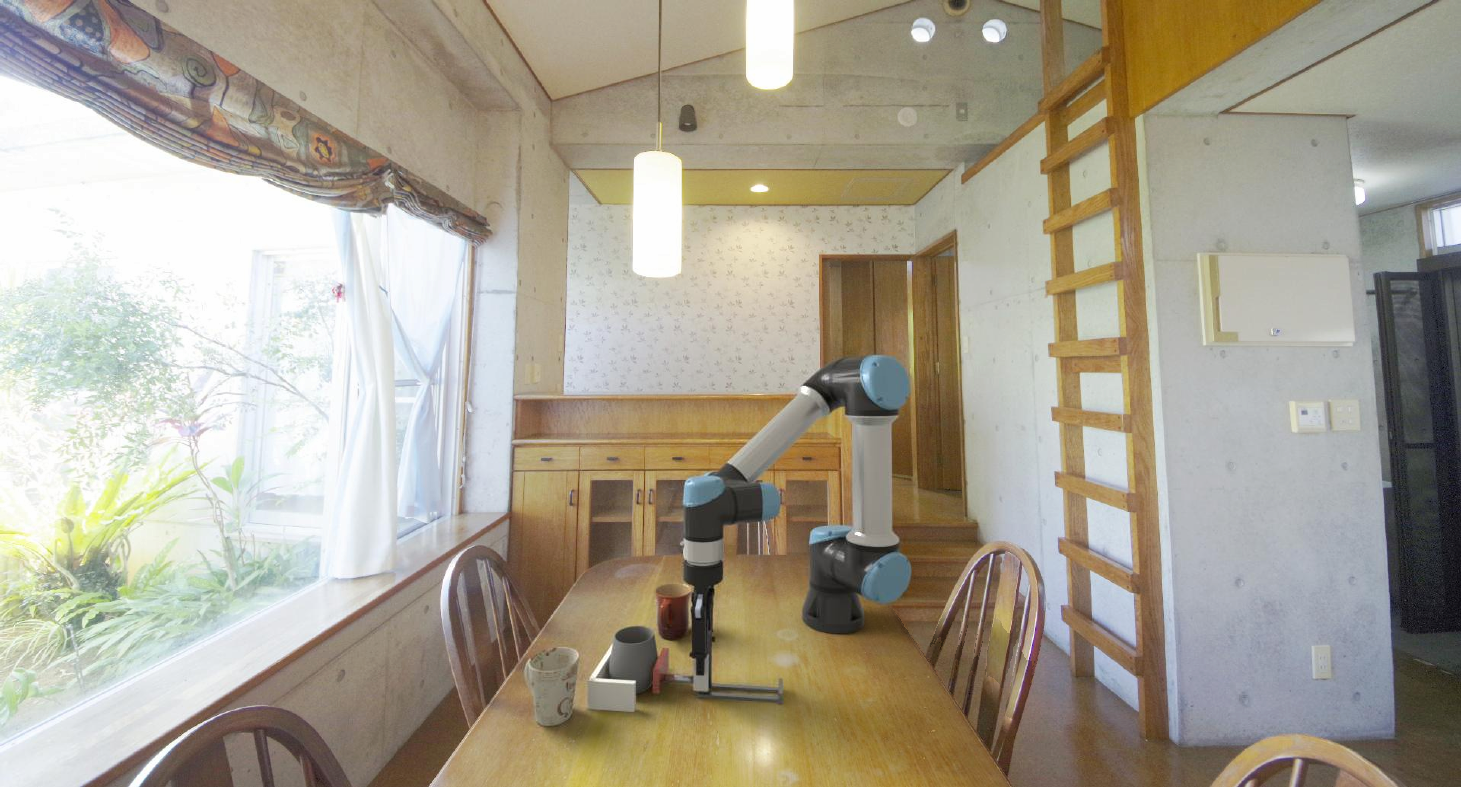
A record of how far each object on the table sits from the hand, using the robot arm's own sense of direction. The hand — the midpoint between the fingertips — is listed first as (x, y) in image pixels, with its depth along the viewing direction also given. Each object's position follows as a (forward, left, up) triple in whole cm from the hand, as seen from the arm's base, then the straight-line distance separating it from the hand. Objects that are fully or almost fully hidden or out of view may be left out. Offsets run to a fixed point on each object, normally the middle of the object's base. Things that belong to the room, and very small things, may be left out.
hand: (702, 683), depth 99 cm
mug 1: (+27, +9, -2) cm, 28 cm away
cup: (+13, 0, -2) cm, 13 cm away
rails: (-7, 0, -2) cm, 7 cm away
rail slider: (+3, 0, 0) cm, 3 cm away
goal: (+15, 0, -2) cm, 15 cm away
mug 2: (+11, -21, -2) cm, 24 cm away
